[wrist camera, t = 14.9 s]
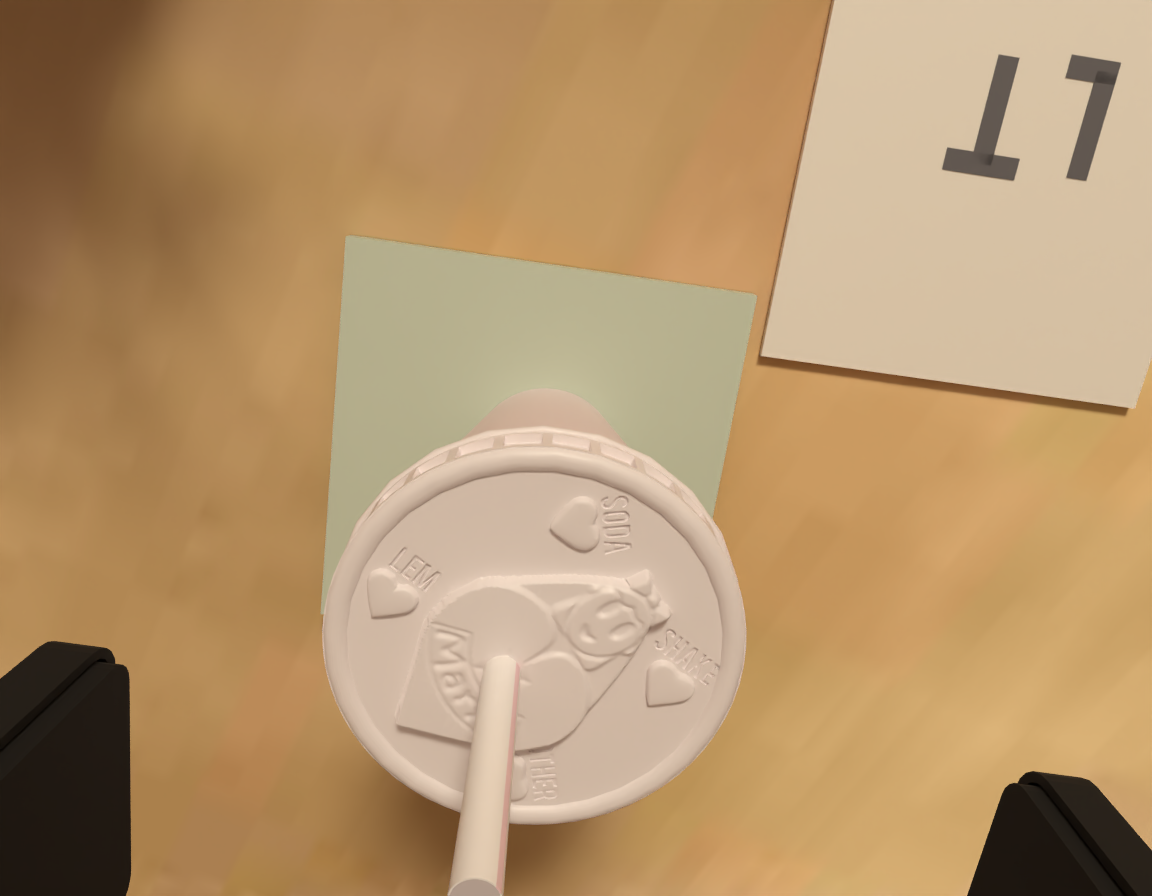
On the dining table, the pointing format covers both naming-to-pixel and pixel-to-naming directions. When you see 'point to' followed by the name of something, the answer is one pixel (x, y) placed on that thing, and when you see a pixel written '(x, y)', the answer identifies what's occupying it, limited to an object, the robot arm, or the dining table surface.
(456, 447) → the smoothie
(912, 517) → the dining table surface
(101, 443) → the dining table surface
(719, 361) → the sage pad
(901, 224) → the card
